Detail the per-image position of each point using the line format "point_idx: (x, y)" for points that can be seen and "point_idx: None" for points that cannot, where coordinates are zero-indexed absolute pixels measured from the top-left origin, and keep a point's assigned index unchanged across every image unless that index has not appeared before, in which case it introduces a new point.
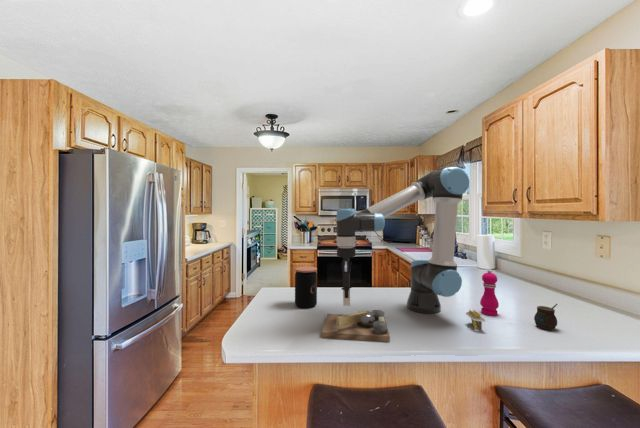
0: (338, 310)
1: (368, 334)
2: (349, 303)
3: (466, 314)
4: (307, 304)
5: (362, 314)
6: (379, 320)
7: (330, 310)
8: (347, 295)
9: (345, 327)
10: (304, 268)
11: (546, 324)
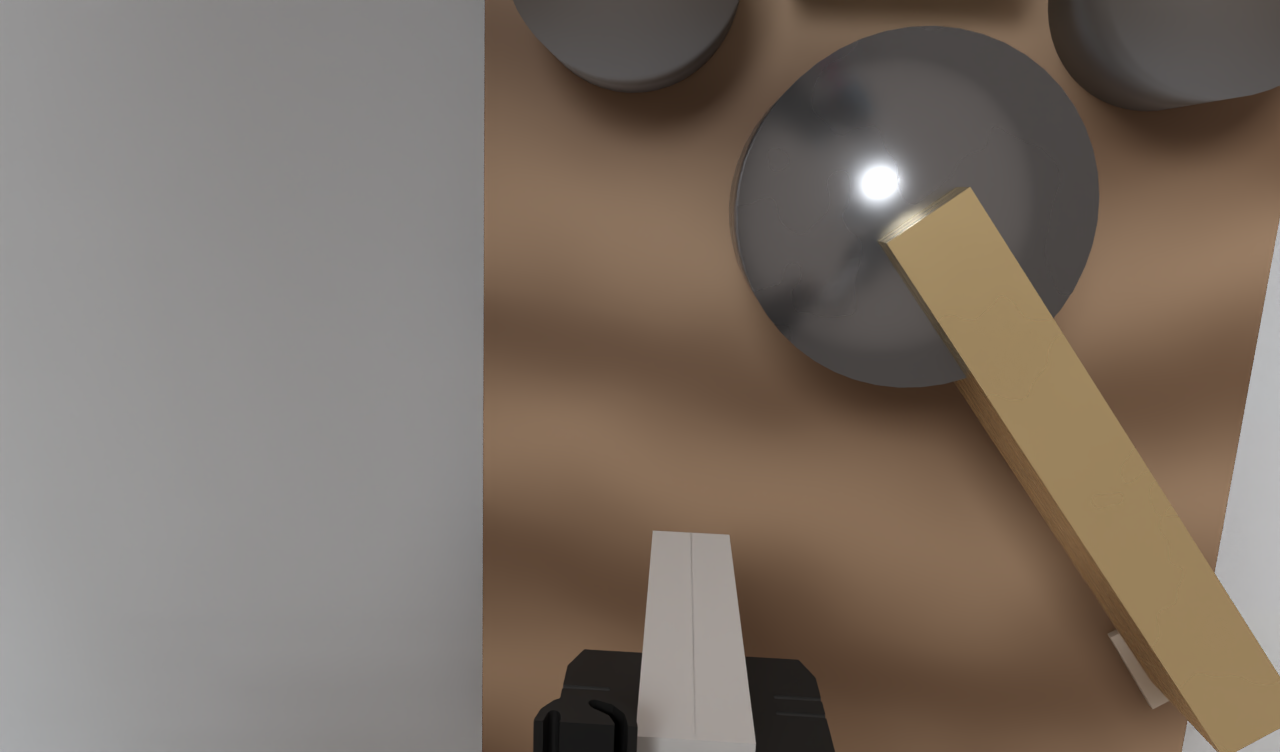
0: (148, 580)
1: (1263, 198)
2: (729, 565)
3: None
4: None
5: (1030, 291)
6: None
7: (173, 691)
8: (817, 719)
9: (1005, 520)
10: None
11: None
